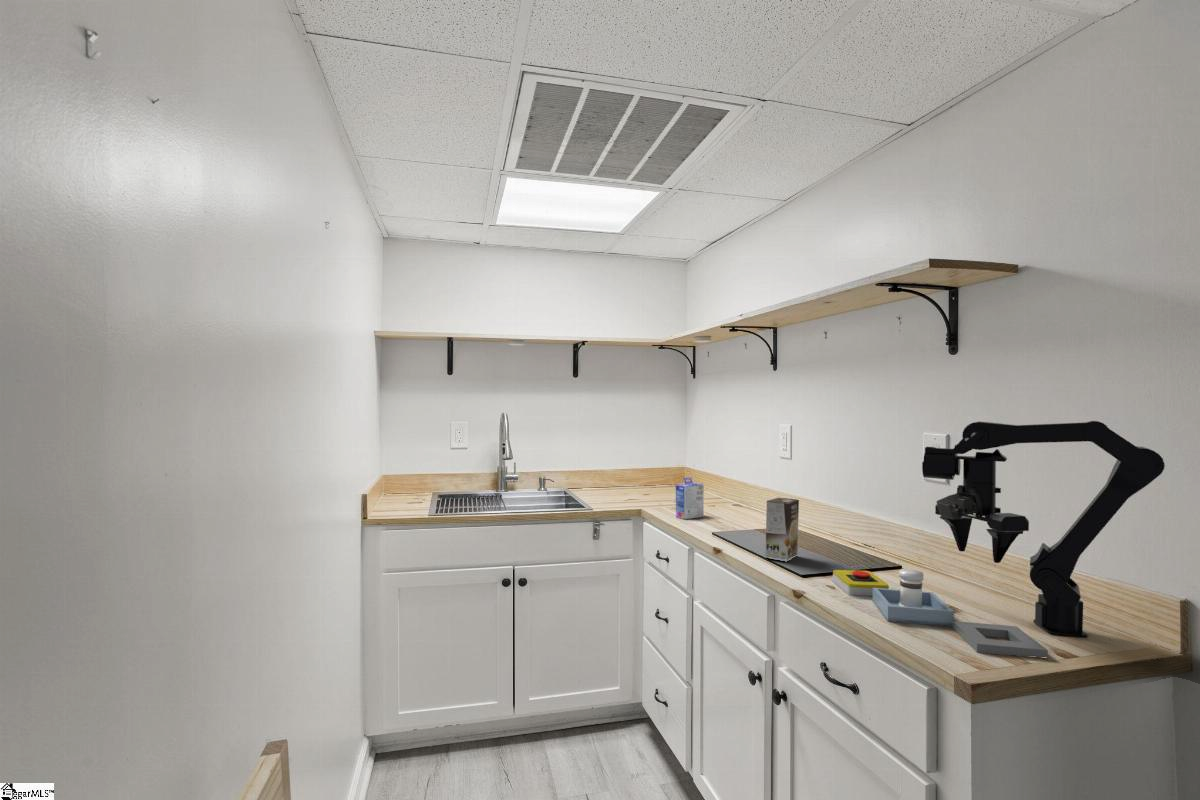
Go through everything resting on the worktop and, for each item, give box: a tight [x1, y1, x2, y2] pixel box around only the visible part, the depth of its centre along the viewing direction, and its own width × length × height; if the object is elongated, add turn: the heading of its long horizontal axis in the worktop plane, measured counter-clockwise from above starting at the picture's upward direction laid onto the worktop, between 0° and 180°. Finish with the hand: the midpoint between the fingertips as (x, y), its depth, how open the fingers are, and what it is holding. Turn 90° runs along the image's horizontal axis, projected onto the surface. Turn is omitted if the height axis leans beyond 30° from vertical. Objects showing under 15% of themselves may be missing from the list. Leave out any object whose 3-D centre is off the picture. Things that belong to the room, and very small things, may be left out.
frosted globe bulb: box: [899, 568, 924, 608], centre depth 123 cm, size 4×4×8 cm
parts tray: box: [872, 588, 955, 628], centre depth 123 cm, size 12×12×3 cm
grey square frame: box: [952, 620, 1049, 658], centre depth 108 cm, size 11×11×2 cm
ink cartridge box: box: [675, 477, 705, 520], centre depth 220 cm, size 10×6×14 cm, turn 124°
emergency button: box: [829, 569, 890, 600], centre depth 139 cm, size 9×4×15 cm
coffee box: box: [764, 497, 800, 560], centre depth 165 cm, size 9×6×16 cm
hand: (978, 556), depth 123 cm, fingers open, 9 cm apart
